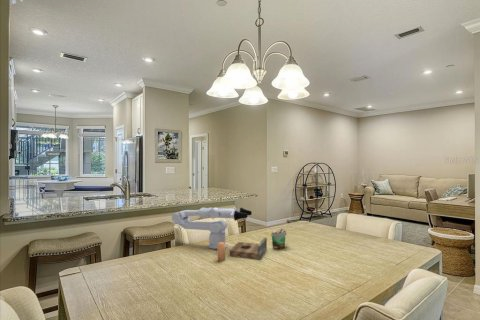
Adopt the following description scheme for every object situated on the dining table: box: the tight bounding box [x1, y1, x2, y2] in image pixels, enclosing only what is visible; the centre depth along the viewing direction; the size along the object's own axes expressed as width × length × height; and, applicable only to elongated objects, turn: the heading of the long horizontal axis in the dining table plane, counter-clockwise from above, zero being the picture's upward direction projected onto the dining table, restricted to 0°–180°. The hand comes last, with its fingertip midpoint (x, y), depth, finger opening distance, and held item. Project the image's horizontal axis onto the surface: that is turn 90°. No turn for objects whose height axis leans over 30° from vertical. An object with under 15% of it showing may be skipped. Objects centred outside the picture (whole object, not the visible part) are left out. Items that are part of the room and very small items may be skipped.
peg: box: [217, 241, 226, 263], centre depth 140 cm, size 4×4×9 cm
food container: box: [271, 228, 288, 250], centre depth 159 cm, size 12×6×10 cm, turn 143°
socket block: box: [229, 237, 268, 260], centre depth 151 cm, size 18×16×7 cm
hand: (249, 214), depth 154 cm, fingers open, 7 cm apart
